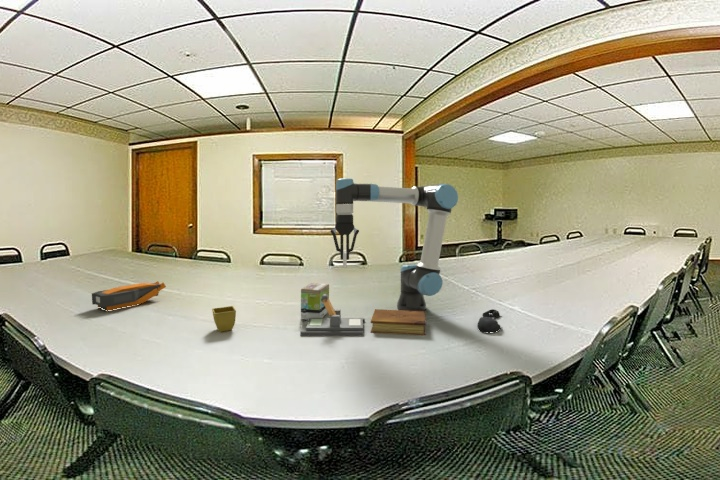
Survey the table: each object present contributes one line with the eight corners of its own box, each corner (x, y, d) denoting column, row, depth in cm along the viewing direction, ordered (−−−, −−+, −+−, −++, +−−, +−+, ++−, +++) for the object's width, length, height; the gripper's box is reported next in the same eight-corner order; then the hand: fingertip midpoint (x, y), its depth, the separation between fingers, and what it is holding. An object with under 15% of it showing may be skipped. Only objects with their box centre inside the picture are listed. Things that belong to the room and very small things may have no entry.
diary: (424, 322, 175) (424, 310, 174) (425, 336, 157) (425, 323, 156) (375, 320, 178) (375, 308, 178) (370, 333, 160) (370, 320, 159)
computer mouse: (475, 333, 160) (476, 320, 160) (482, 313, 190) (483, 302, 189) (499, 336, 157) (499, 323, 156) (502, 315, 186) (503, 304, 186)
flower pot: (215, 334, 157) (214, 313, 156) (212, 328, 165) (211, 308, 164) (236, 331, 161) (236, 310, 160) (233, 325, 169) (232, 305, 168)
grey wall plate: (364, 321, 175) (364, 318, 175) (365, 335, 156) (365, 332, 156) (306, 321, 175) (306, 318, 175) (300, 335, 156) (300, 332, 156)
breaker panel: (362, 323, 172) (362, 308, 172) (363, 333, 158) (363, 317, 158) (310, 323, 172) (310, 308, 172) (306, 333, 158) (305, 317, 158)
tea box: (320, 320, 176) (320, 289, 174) (300, 319, 178) (299, 288, 176) (329, 311, 190) (329, 283, 189) (310, 310, 192) (310, 282, 191)
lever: (339, 318, 168) (326, 292, 167) (338, 322, 162) (325, 295, 161) (333, 320, 168) (321, 295, 167) (333, 325, 162) (320, 298, 161)
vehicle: (170, 299, 214) (169, 282, 213) (103, 314, 186) (102, 294, 185) (156, 296, 222) (155, 279, 221) (90, 309, 194) (89, 290, 193)
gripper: (359, 213, 169) (359, 265, 172) (330, 213, 169) (330, 265, 172) (359, 214, 162) (359, 268, 164) (329, 214, 162) (329, 268, 164)
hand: (344, 266), depth 168 cm, fingers closed
